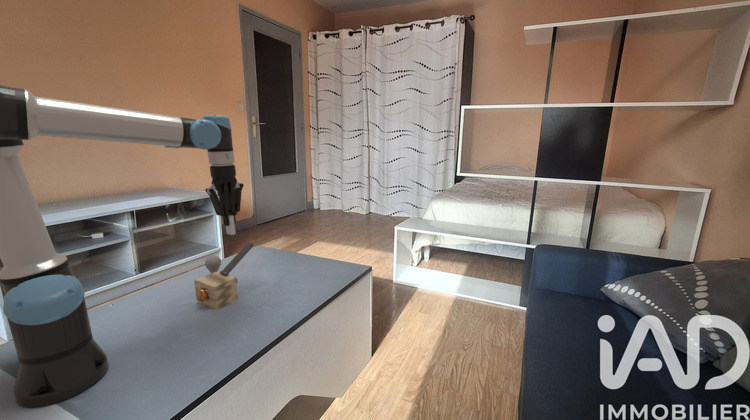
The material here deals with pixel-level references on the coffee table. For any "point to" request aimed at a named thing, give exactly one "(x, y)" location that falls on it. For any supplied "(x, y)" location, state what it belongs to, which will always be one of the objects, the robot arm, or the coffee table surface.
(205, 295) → the pin
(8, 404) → the coffee table surface
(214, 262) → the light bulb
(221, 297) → the block
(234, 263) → the bar
